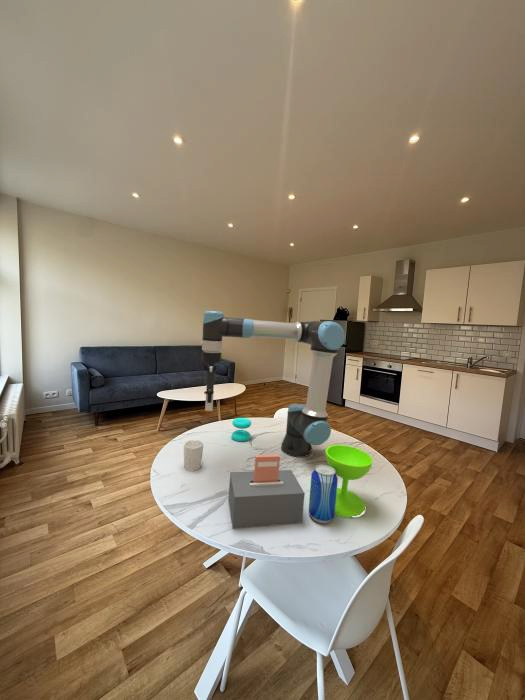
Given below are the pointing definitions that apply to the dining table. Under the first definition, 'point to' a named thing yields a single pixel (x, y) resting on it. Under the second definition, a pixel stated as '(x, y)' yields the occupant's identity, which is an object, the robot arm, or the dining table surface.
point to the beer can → (323, 494)
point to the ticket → (266, 468)
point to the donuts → (241, 434)
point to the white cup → (193, 454)
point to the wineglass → (348, 476)
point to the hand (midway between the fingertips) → (208, 405)
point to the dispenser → (265, 500)
